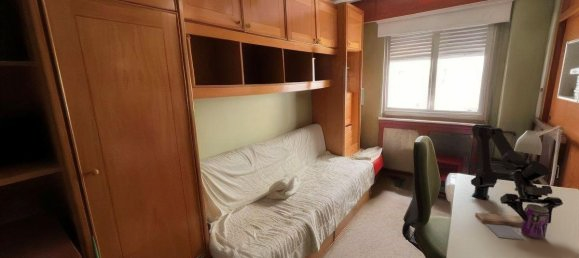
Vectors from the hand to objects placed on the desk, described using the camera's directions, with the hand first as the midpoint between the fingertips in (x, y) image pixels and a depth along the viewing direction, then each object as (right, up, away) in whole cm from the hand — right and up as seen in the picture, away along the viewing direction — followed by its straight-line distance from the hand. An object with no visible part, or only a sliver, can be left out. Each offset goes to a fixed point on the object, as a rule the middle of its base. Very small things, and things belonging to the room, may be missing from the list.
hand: (537, 221), depth 98 cm
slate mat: (-9, -6, +5) cm, 12 cm away
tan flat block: (-3, -4, +12) cm, 13 cm away
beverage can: (+1, -6, +3) cm, 7 cm away
